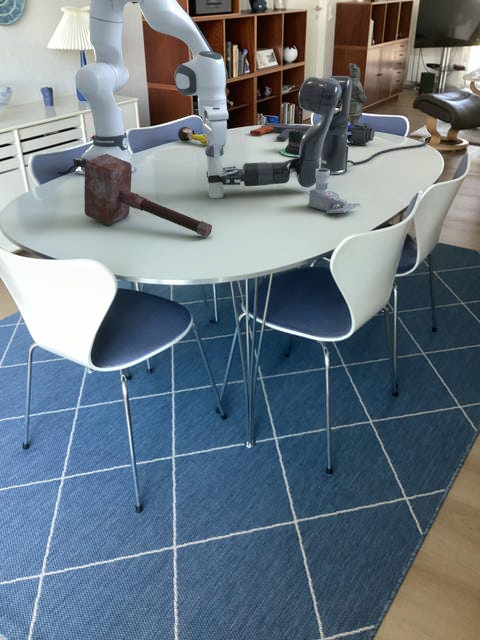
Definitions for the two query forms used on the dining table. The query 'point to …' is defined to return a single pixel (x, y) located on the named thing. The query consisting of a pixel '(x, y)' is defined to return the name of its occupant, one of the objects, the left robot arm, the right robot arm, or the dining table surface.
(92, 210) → the sledgehammer
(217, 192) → the jar
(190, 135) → the figurine
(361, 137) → the toy
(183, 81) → the left robot arm
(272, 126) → the submachine gun
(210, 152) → the lid
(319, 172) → the grey foot-shaped piece
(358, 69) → the statue
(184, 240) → the dining table surface
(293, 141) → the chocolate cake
